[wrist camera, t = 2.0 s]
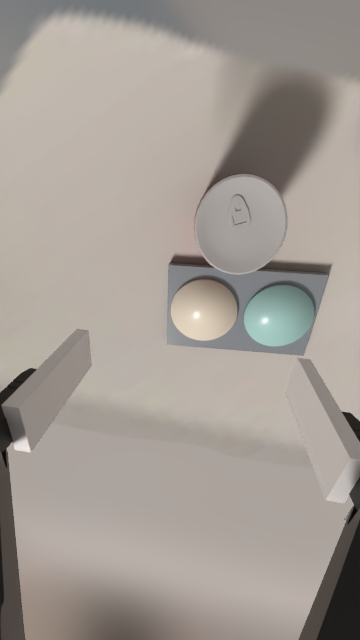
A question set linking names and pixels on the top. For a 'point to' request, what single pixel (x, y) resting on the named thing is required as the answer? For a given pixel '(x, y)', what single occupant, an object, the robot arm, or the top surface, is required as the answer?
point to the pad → (278, 315)
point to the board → (228, 306)
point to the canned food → (240, 224)
